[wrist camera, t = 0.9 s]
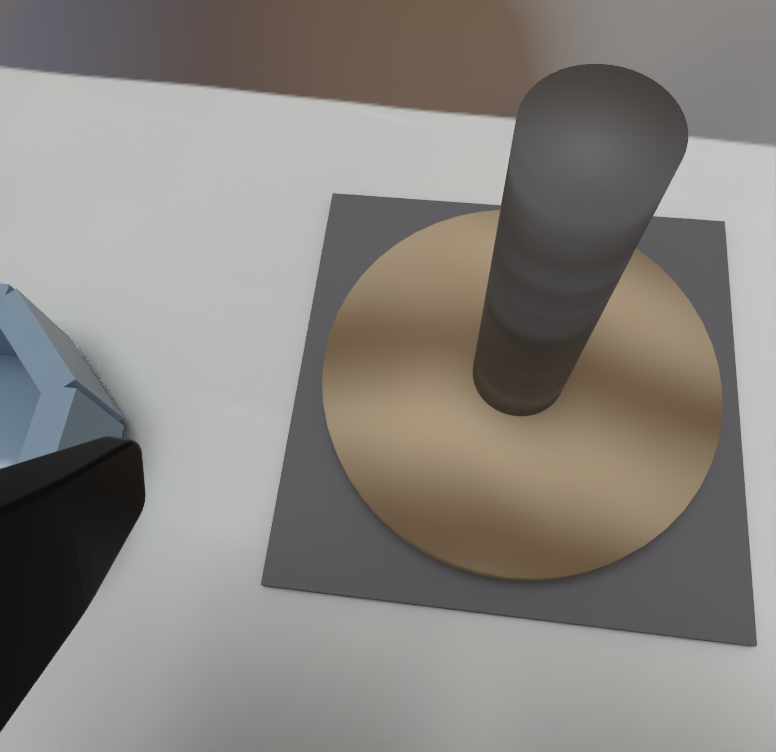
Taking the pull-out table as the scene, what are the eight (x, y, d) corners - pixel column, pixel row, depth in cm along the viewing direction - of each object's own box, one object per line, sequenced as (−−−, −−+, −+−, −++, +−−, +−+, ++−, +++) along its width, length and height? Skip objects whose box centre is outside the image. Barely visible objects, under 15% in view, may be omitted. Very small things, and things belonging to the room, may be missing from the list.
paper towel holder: (720, 606, 21) (1095, 538, 9) (297, 556, 22) (158, 439, 10) (698, 242, 26) (926, -102, 14) (354, 216, 27) (302, -121, 15)
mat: (752, 646, 21) (756, 645, 20) (262, 585, 22) (260, 584, 22) (721, 226, 26) (724, 221, 26) (333, 198, 27) (332, 193, 27)
